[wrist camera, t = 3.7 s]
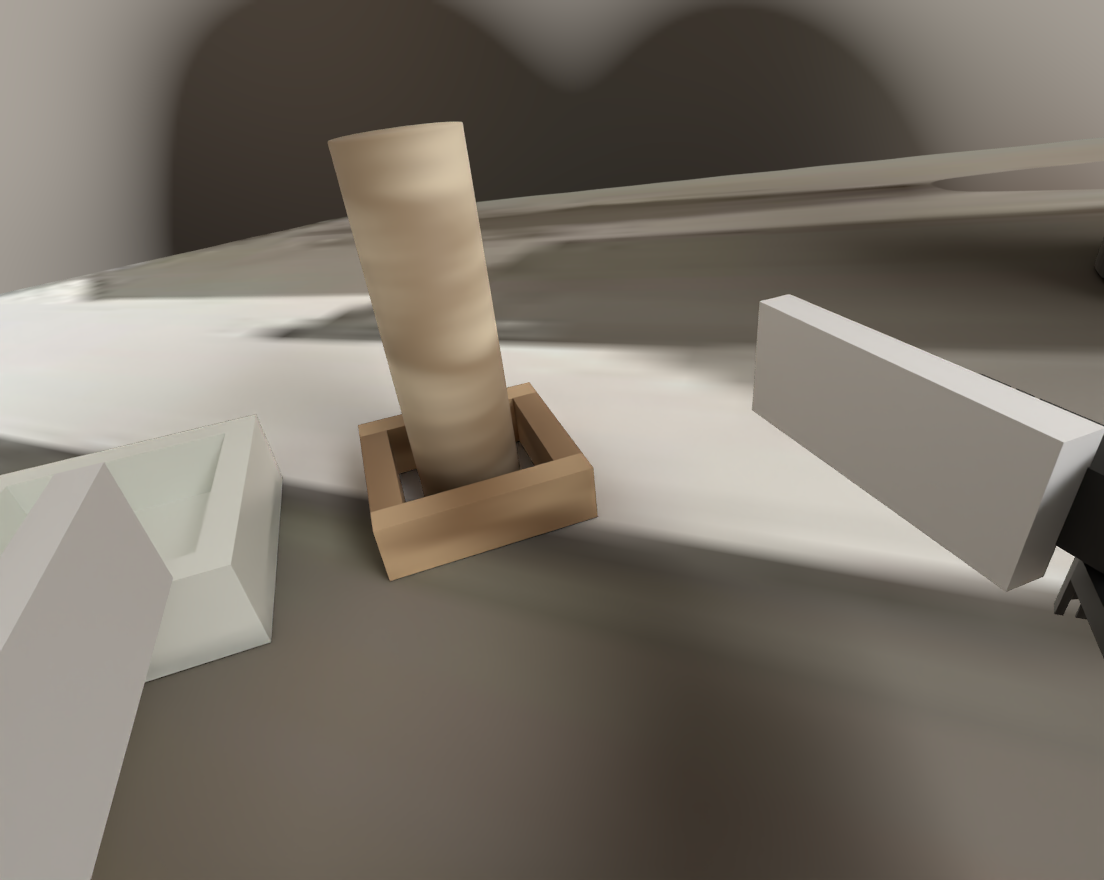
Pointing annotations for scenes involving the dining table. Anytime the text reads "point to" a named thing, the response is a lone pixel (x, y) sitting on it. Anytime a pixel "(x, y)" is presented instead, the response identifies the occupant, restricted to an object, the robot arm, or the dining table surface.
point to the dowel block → (475, 493)
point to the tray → (191, 532)
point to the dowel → (430, 296)
